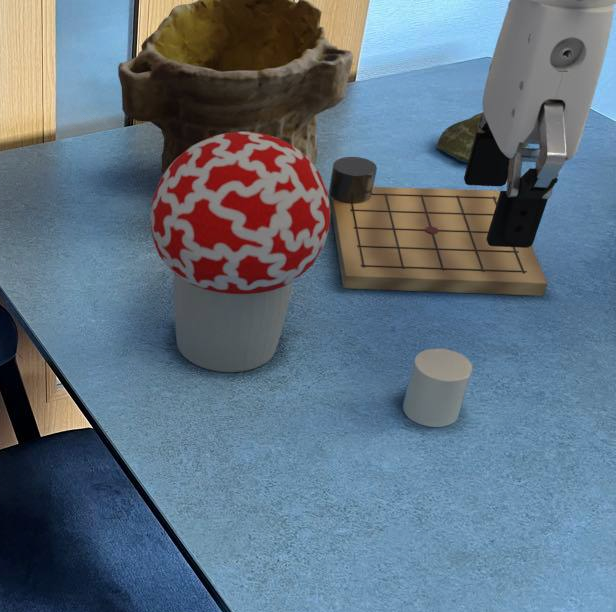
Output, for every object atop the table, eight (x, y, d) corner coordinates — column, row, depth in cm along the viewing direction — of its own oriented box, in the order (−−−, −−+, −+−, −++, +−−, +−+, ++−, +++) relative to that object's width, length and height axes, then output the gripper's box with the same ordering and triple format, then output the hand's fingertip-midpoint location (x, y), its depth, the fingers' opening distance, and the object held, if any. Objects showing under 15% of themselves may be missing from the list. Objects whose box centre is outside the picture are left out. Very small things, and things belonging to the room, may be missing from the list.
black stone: (369, 184, 119) (374, 157, 117) (373, 203, 116) (379, 176, 113) (327, 182, 119) (331, 156, 117) (330, 202, 116) (334, 175, 114)
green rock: (425, 138, 127) (479, 66, 124) (432, 161, 133) (484, 93, 131) (495, 179, 123) (552, 105, 121) (499, 200, 130) (553, 131, 127)
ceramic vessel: (216, 217, 100) (143, -48, 96) (127, 267, 123) (66, 54, 119) (407, 165, 106) (346, -86, 103) (289, 222, 129) (235, 19, 126)
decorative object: (117, 324, 102) (120, 123, 88) (251, 286, 107) (275, 90, 93) (196, 410, 92) (214, 200, 78) (341, 365, 97) (382, 158, 82)
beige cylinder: (453, 395, 93) (467, 349, 89) (462, 429, 90) (477, 382, 86) (399, 393, 93) (411, 346, 90) (406, 426, 90) (418, 379, 87)
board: (505, 202, 119) (509, 189, 117) (543, 296, 104) (548, 282, 103) (328, 197, 120) (331, 184, 119) (343, 288, 106) (345, 274, 105)
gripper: (672, 12, 60) (573, 274, 72) (595, -71, 72) (522, 165, 84) (540, 8, 61) (464, 269, 73) (486, -73, 73) (428, 161, 85)
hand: (495, 213), depth 78 cm, fingers open, 9 cm apart
